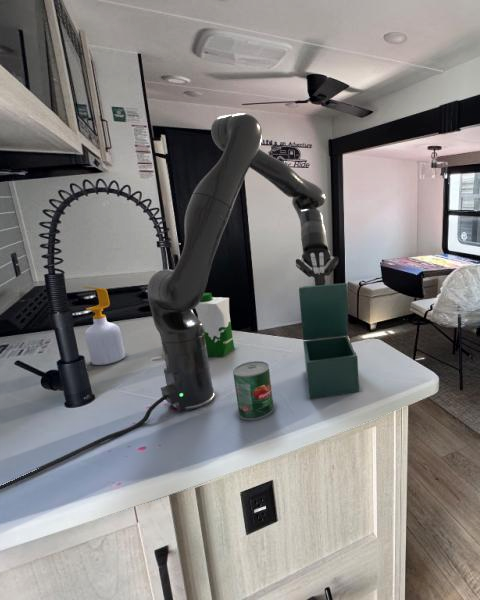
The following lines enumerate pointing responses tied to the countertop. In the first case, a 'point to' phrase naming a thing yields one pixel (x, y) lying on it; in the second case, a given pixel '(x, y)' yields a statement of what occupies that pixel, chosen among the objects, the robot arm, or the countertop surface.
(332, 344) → the case
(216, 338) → the milk carton
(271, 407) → the canned tomato
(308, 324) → the case lid
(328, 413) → the countertop surface
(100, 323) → the spray bottle
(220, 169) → the robot arm
